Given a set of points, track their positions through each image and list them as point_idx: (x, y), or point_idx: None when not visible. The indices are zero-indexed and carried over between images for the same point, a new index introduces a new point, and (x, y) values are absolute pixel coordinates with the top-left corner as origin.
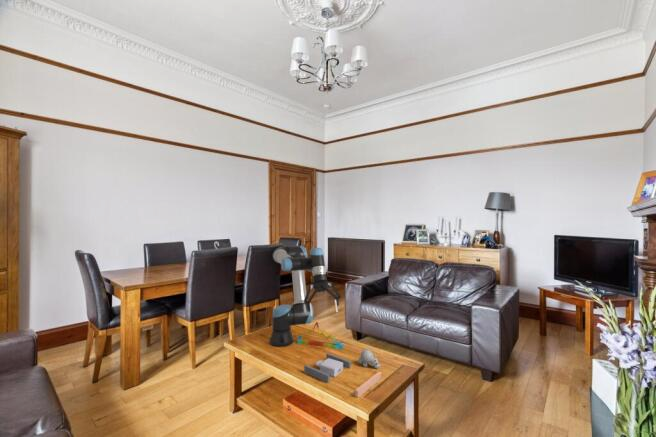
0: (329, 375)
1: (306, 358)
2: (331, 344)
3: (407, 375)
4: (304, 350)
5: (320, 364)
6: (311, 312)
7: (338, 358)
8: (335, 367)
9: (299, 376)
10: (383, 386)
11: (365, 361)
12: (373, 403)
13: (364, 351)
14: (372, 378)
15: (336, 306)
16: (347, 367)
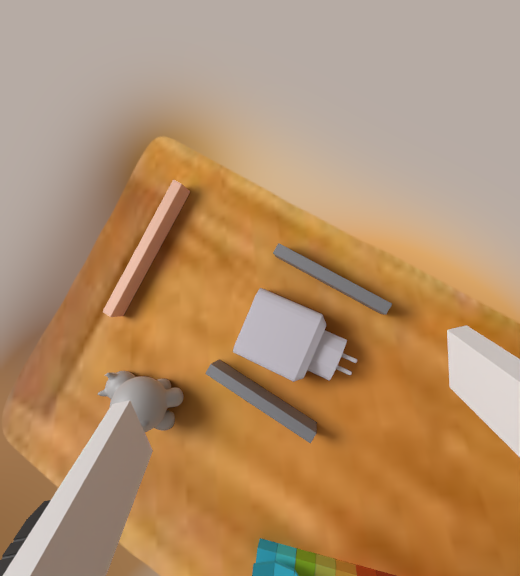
0: (274, 251)
1: (408, 428)
2: (314, 572)
3: (42, 343)
4: (441, 514)
5: (322, 318)
6: (486, 348)
7: (256, 393)
8: (255, 297)
9: (396, 271)
10: (112, 264)
11: (150, 377)
12: (141, 172)
13: (135, 404)
14: (131, 266)
15: (82, 463)
16: (224, 364)
